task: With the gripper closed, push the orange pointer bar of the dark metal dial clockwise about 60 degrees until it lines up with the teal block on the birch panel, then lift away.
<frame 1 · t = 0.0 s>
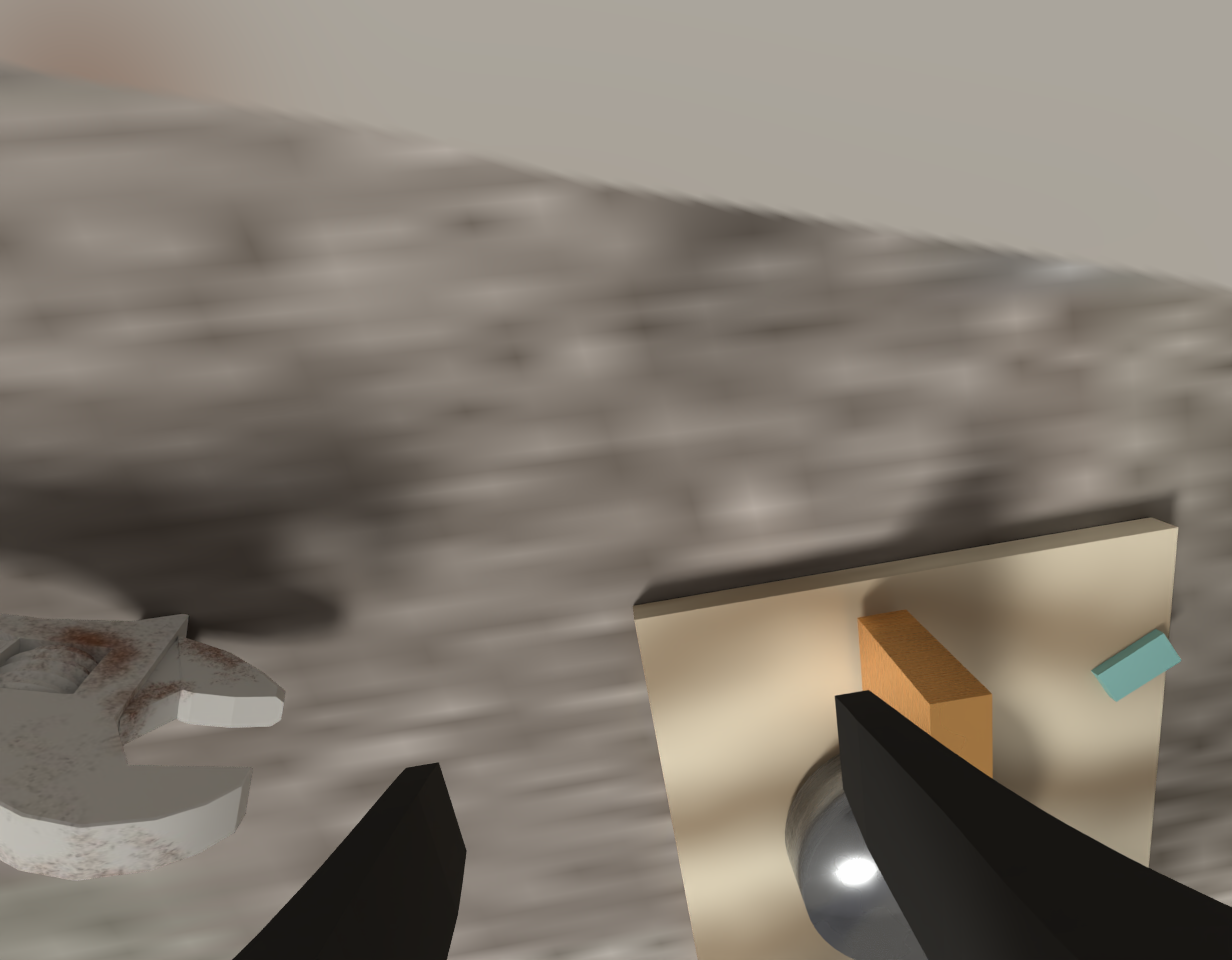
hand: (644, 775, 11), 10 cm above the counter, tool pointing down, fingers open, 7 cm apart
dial: (922, 825, 19), point 4 cm above the counter, hinge at 0.0°
teal block: (1132, 663, 21), resting on panel
panel: (900, 773, 23), on the counter
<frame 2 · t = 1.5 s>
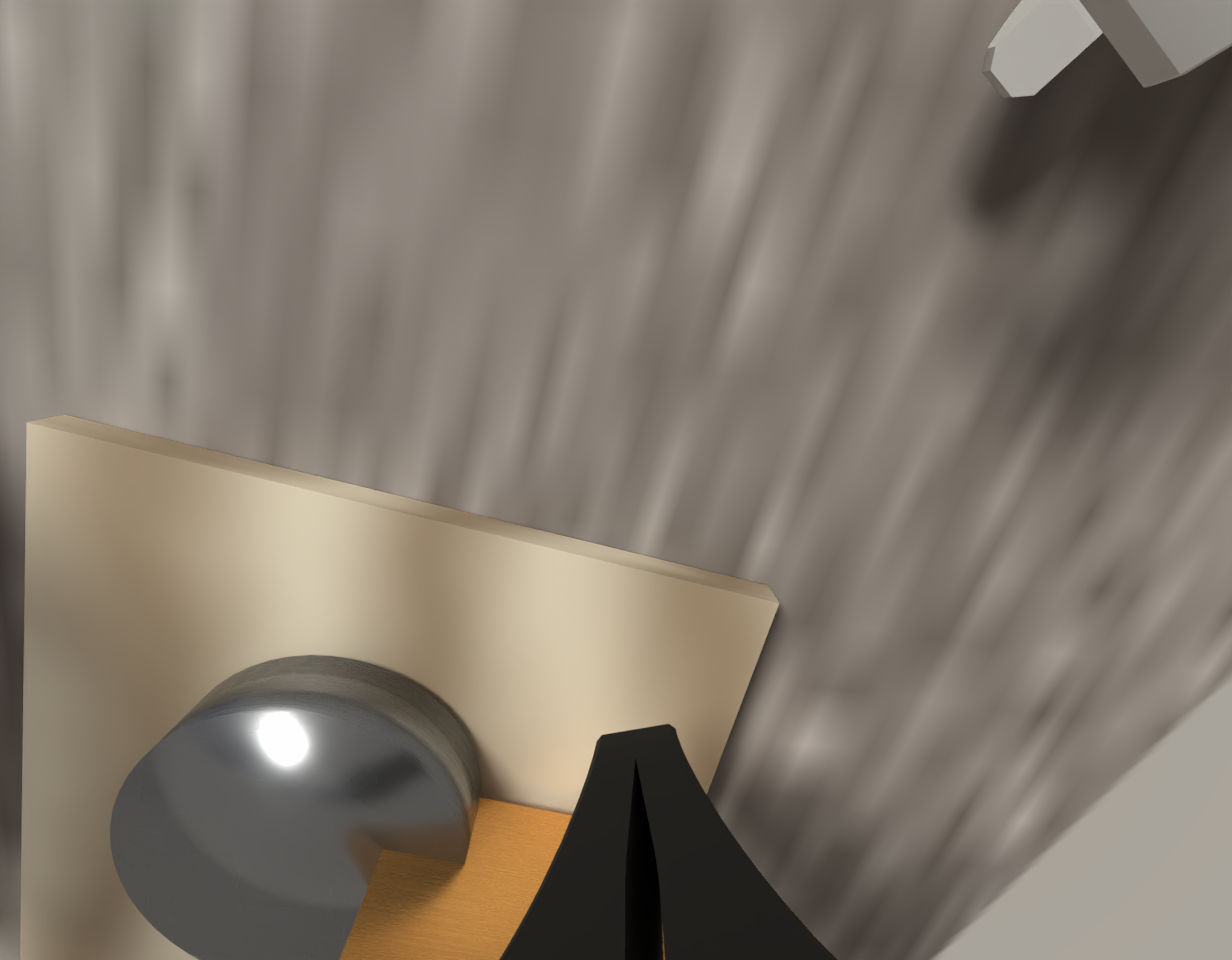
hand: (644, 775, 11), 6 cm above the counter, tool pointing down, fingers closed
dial: (396, 885, 14), point 4 cm above the counter, hinge at 0.0°
panel: (379, 787, 18), on the counter
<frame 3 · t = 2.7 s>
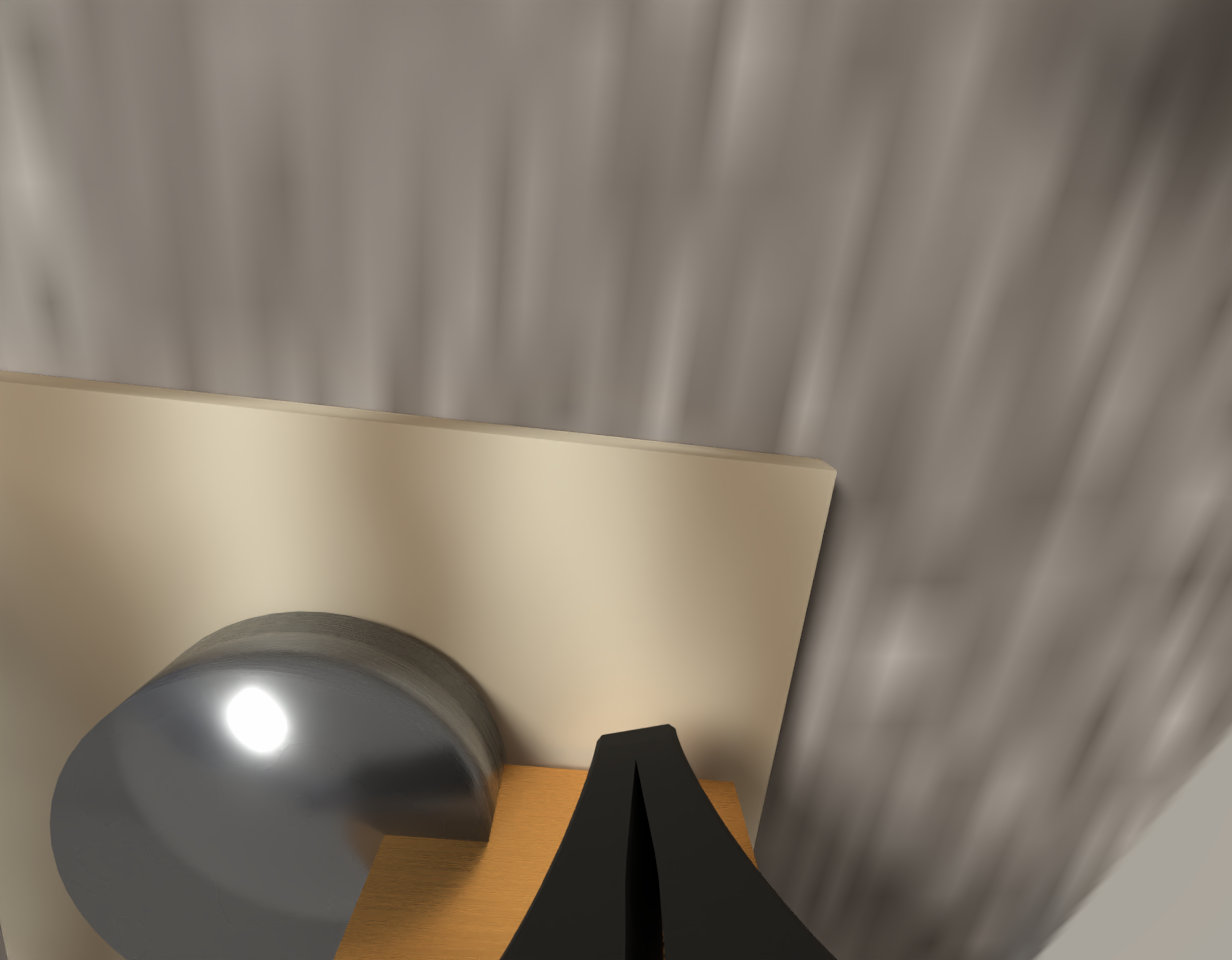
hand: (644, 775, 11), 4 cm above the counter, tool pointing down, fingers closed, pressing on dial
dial: (408, 877, 11), point 4 cm above the counter, hinge at 0.0°, touching gripper
panel: (391, 771, 15), on the counter
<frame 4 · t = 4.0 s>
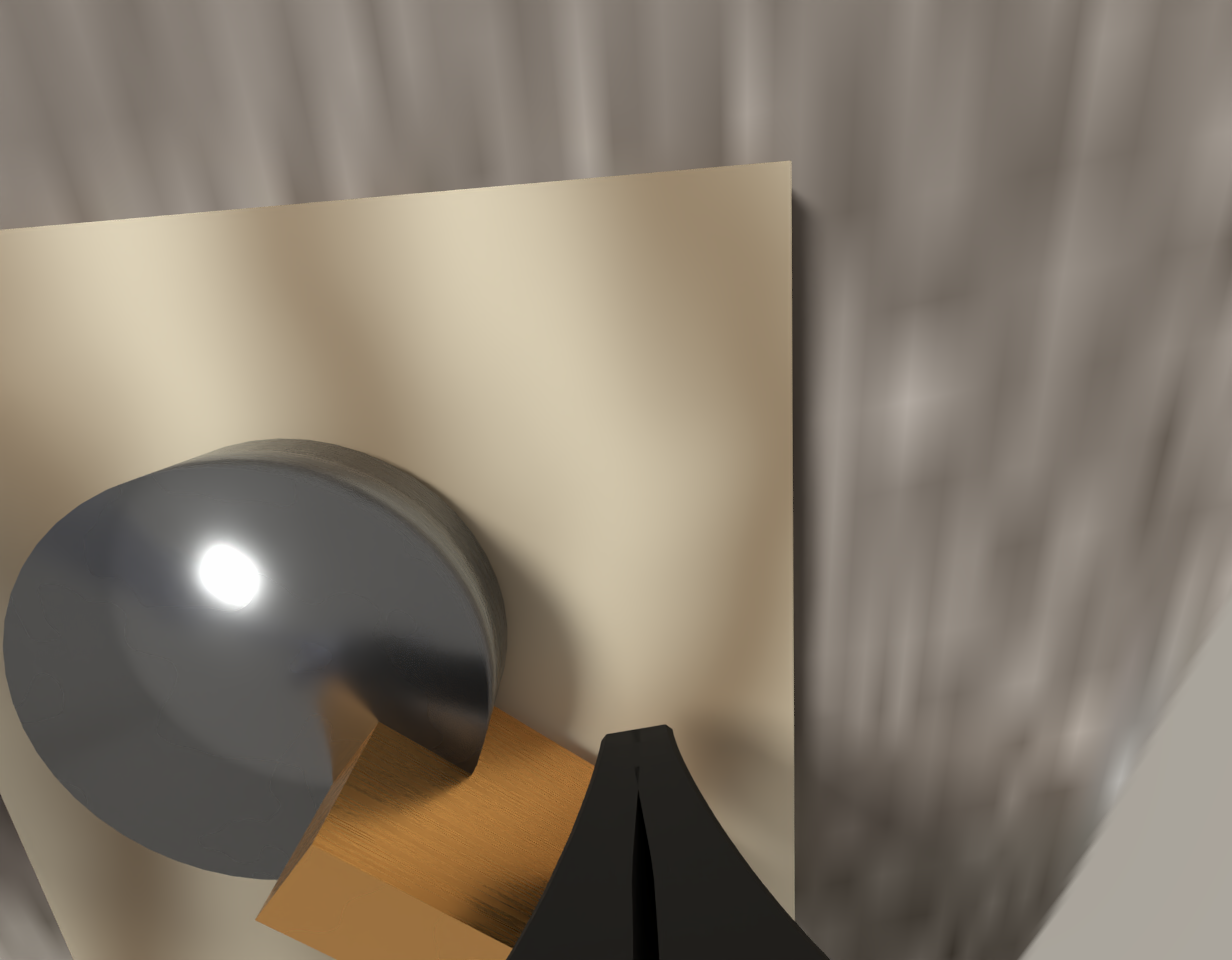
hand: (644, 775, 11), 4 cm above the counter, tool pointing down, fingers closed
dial: (377, 773, 11), point 4 cm above the counter, hinge at -41.4°, touching gripper
panel: (390, 636, 14), on the counter
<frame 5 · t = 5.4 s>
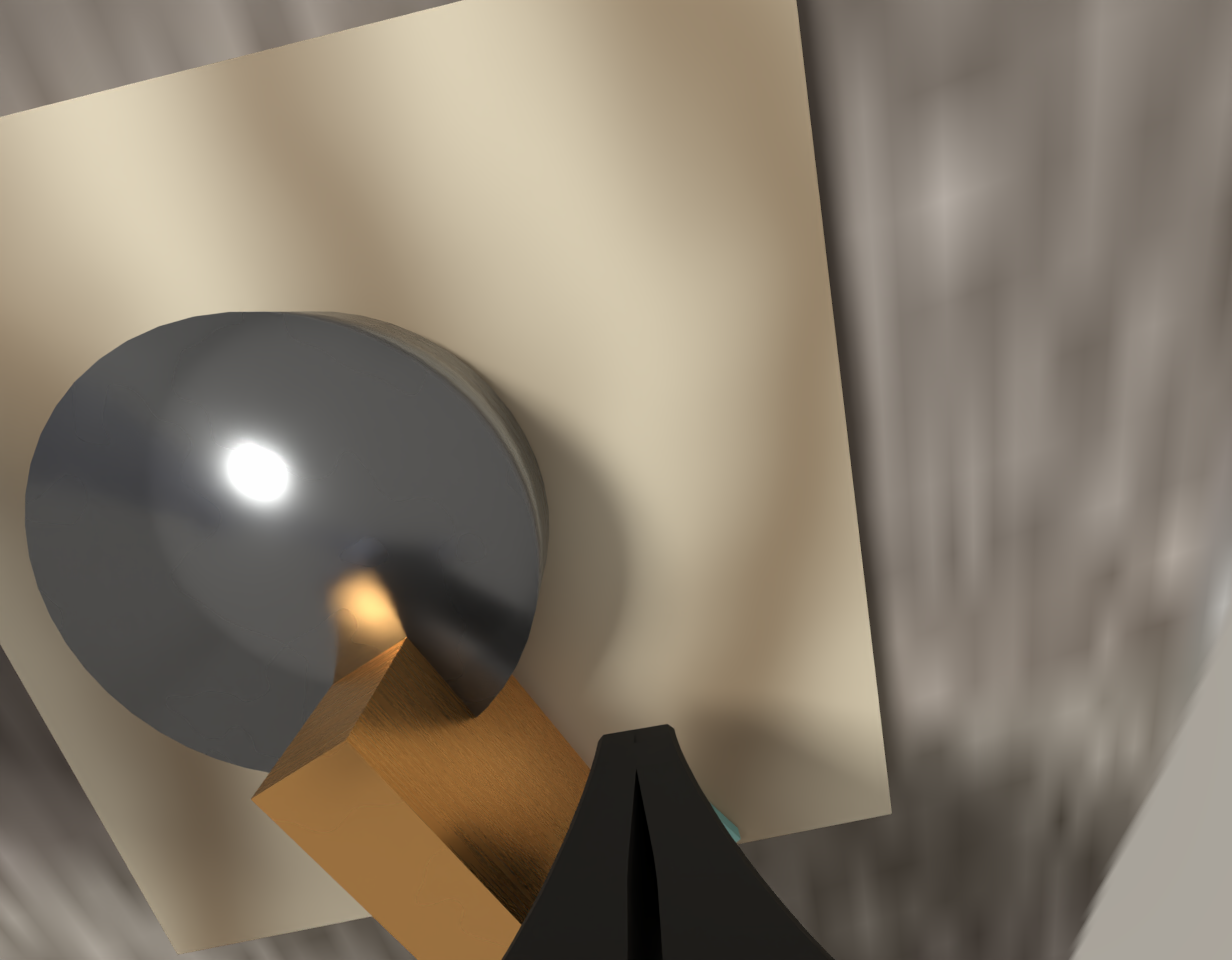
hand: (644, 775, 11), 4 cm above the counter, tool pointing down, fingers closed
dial: (385, 687, 10), point 4 cm above the counter, hinge at -69.0°, touching gripper
panel: (427, 535, 13), on the counter
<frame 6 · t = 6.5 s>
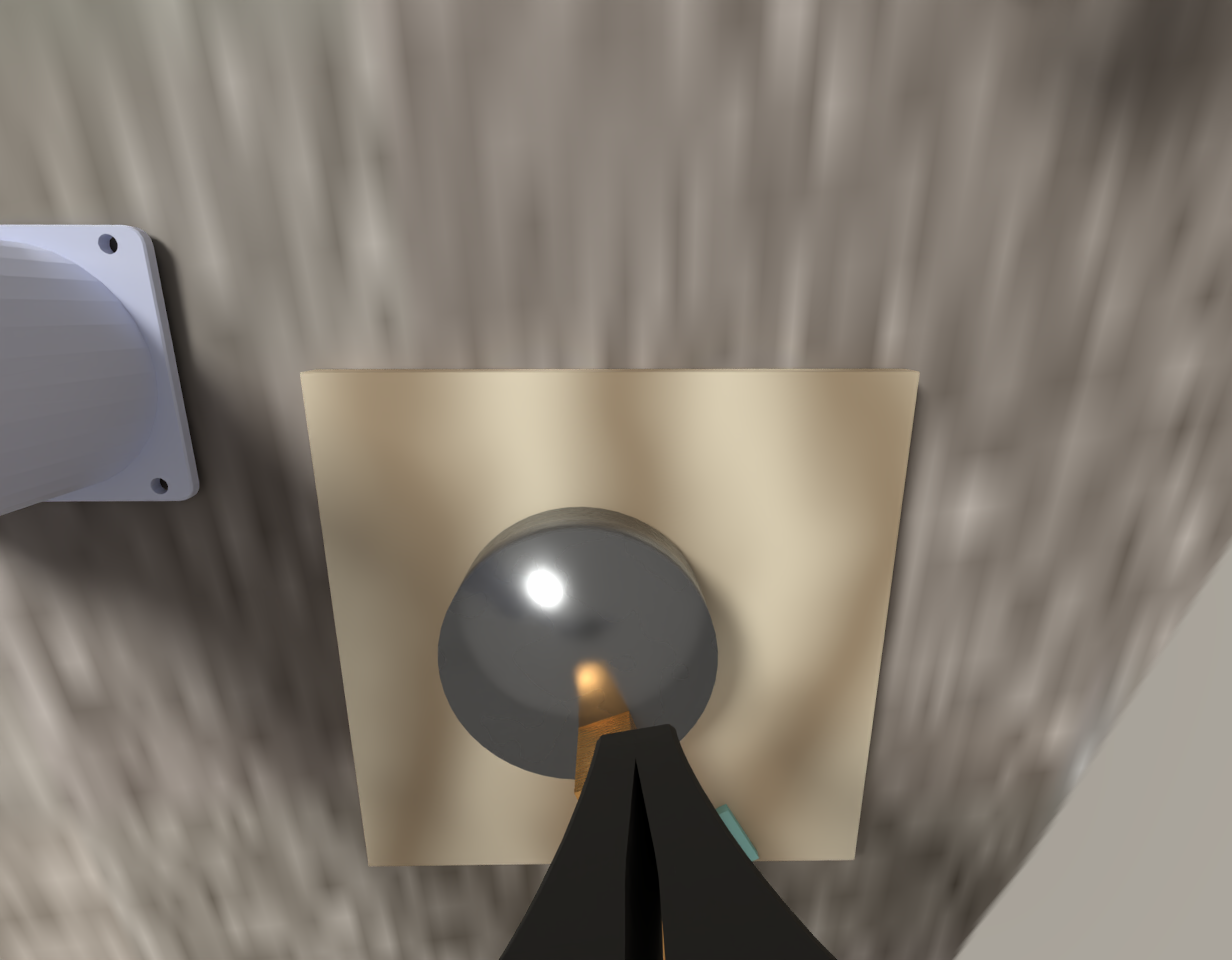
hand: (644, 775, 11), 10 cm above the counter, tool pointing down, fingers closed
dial: (609, 736, 18), point 4 cm above the counter, hinge at -69.1°
teal block: (724, 835, 22), resting on panel
panel: (612, 632, 21), on the counter
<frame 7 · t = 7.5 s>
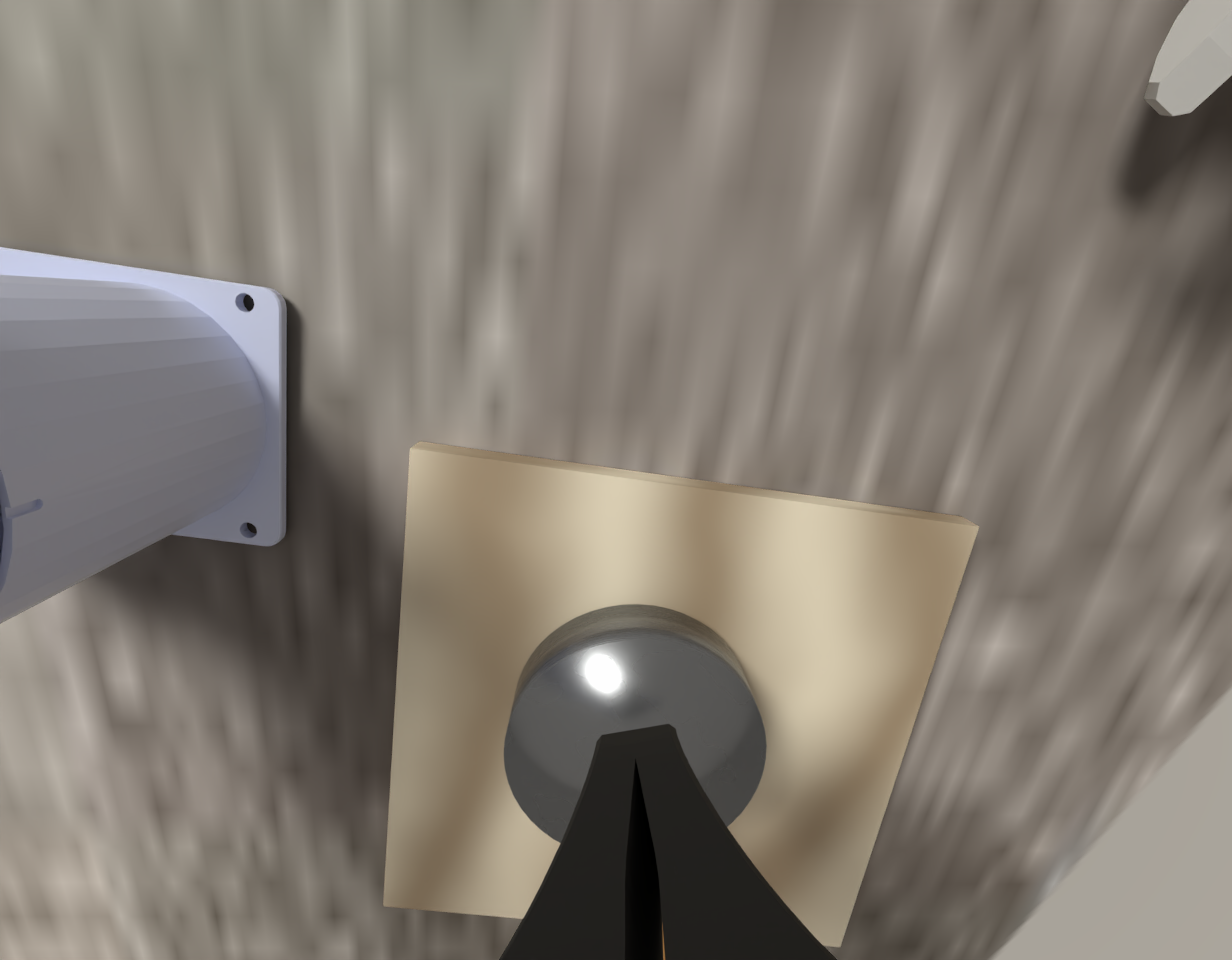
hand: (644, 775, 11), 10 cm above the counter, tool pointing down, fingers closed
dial: (652, 825, 19), point 4 cm above the counter, hinge at -69.1°
panel: (653, 714, 22), on the counter
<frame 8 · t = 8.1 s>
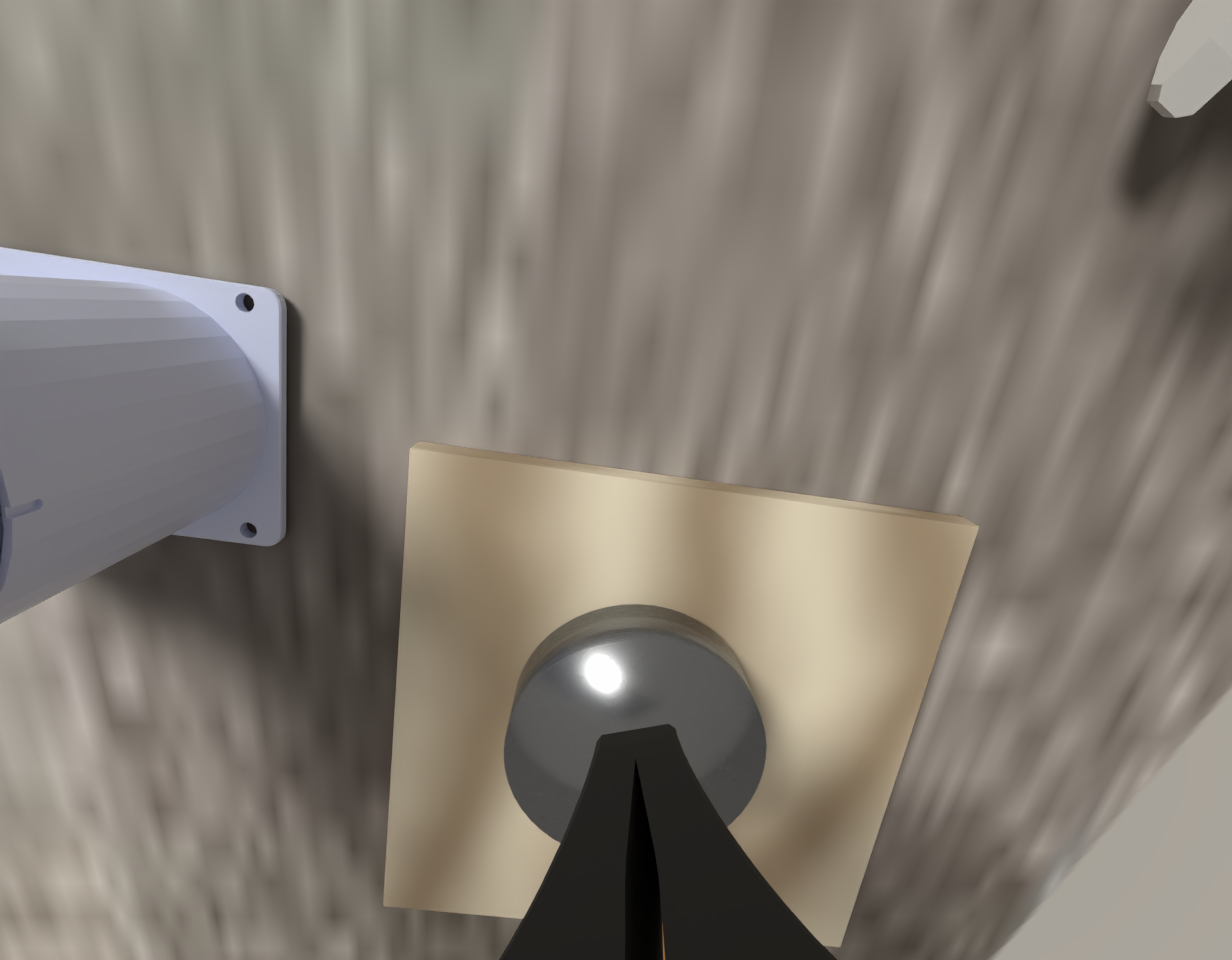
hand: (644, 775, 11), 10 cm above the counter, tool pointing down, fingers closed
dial: (652, 825, 19), point 4 cm above the counter, hinge at -69.1°
panel: (653, 714, 22), on the counter
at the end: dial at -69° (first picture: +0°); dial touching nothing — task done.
